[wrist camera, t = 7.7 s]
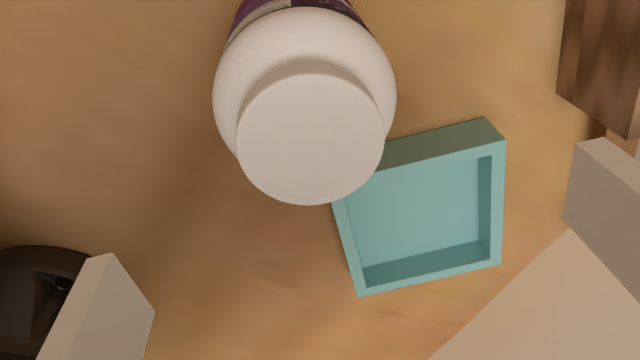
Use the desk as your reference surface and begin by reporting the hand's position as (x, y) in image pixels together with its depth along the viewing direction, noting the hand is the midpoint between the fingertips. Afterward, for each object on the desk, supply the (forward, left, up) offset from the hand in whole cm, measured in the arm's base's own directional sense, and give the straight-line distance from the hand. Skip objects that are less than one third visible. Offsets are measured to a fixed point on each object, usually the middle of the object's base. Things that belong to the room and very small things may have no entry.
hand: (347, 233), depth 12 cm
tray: (+6, -15, -19) cm, 25 cm away
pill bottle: (0, +1, -19) cm, 19 cm away
